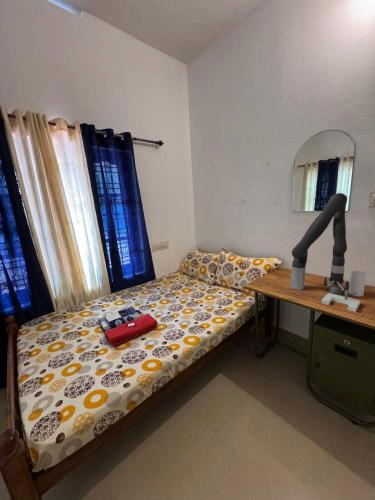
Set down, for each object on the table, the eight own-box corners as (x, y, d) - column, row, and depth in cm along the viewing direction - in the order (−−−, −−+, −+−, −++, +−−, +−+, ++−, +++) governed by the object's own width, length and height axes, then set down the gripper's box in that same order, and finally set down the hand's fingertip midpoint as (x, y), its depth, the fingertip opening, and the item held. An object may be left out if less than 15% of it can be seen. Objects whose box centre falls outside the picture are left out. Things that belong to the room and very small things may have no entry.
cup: (360, 297, 147) (363, 275, 143) (346, 293, 153) (349, 272, 150) (365, 294, 151) (368, 272, 148) (351, 290, 158) (353, 269, 154)
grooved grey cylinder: (329, 295, 152) (330, 287, 151) (331, 292, 156) (332, 284, 155) (338, 297, 148) (339, 289, 147) (340, 294, 152) (341, 286, 151)
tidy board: (321, 303, 142) (322, 291, 140) (327, 296, 151) (328, 284, 149) (355, 312, 129) (357, 299, 127) (360, 303, 138) (361, 291, 136)
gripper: (323, 270, 151) (321, 292, 155) (348, 274, 141) (346, 297, 144) (327, 268, 156) (325, 289, 159) (351, 271, 146) (348, 294, 149)
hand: (335, 293), depth 152 cm, fingers open, 8 cm apart
